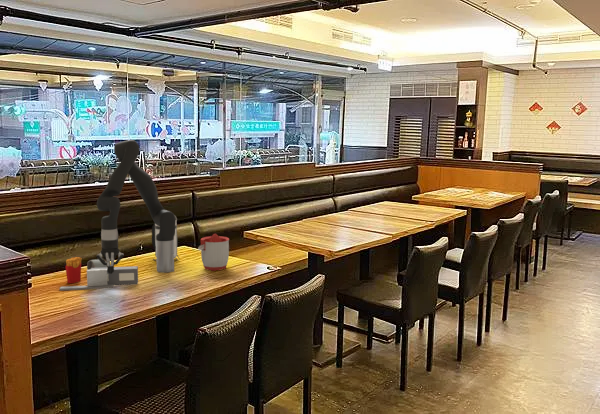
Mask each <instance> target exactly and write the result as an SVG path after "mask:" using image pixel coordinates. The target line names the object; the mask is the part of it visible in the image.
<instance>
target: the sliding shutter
mask: <svg viewBox="0 0 600 414" xmlns="http://www.w3.org/2000/svg"><path fill="white" fill-rule="evenodd" d="M104 285H108V284H107V269H99V270H87V269H86V286H104Z"/></svg>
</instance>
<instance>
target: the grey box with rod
mask: <svg viewBox="0 0 600 414" xmlns="http://www.w3.org/2000/svg"><path fill="white" fill-rule="evenodd" d="M99 269H107V267H104V268H91V269H90V270H99ZM107 284H108V285H104V286H87V285H72V286H70V285H69V286H60V287H59V292H60V291H61V292H62V291H78V290H79V291H80V290H84V291H85V290H102V289H114V286H132V285H134V286H136V285H138V284H139V266H138V265H137V266H135V265H133V266H114V272H113V273H112V274H109V273H108V270H107Z"/></svg>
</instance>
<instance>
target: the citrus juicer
mask: <svg viewBox="0 0 600 414" xmlns="http://www.w3.org/2000/svg"><path fill="white" fill-rule="evenodd" d="M229 243H230V238H229V237H227V236H220V235H218V234H217V233H212V235H210V236H209V235H208V236H203V237H202V238H200V245H199V246H198V247H197V249H198V251H200V252H201V253H200V256H201V262H202V265H203V268H204V270H206V271H210V270H211V271H210V272H216V270H218V271H223V270H222V269H224V270H225V269H226V268H227V266H228V262H229V255H230V252H229V251H230V244H229Z"/></svg>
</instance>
